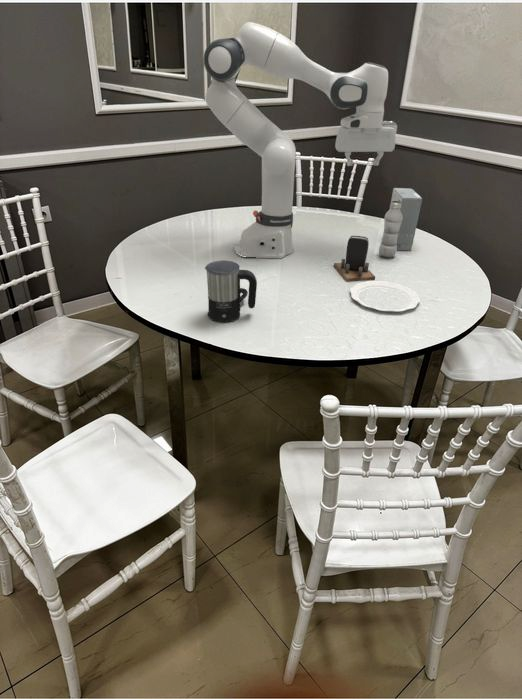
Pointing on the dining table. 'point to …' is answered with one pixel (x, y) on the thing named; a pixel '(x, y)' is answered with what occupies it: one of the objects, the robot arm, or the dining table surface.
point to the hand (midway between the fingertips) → (362, 165)
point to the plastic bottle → (391, 230)
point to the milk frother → (228, 290)
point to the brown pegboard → (354, 272)
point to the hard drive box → (407, 216)
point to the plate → (388, 285)
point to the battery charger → (356, 252)
